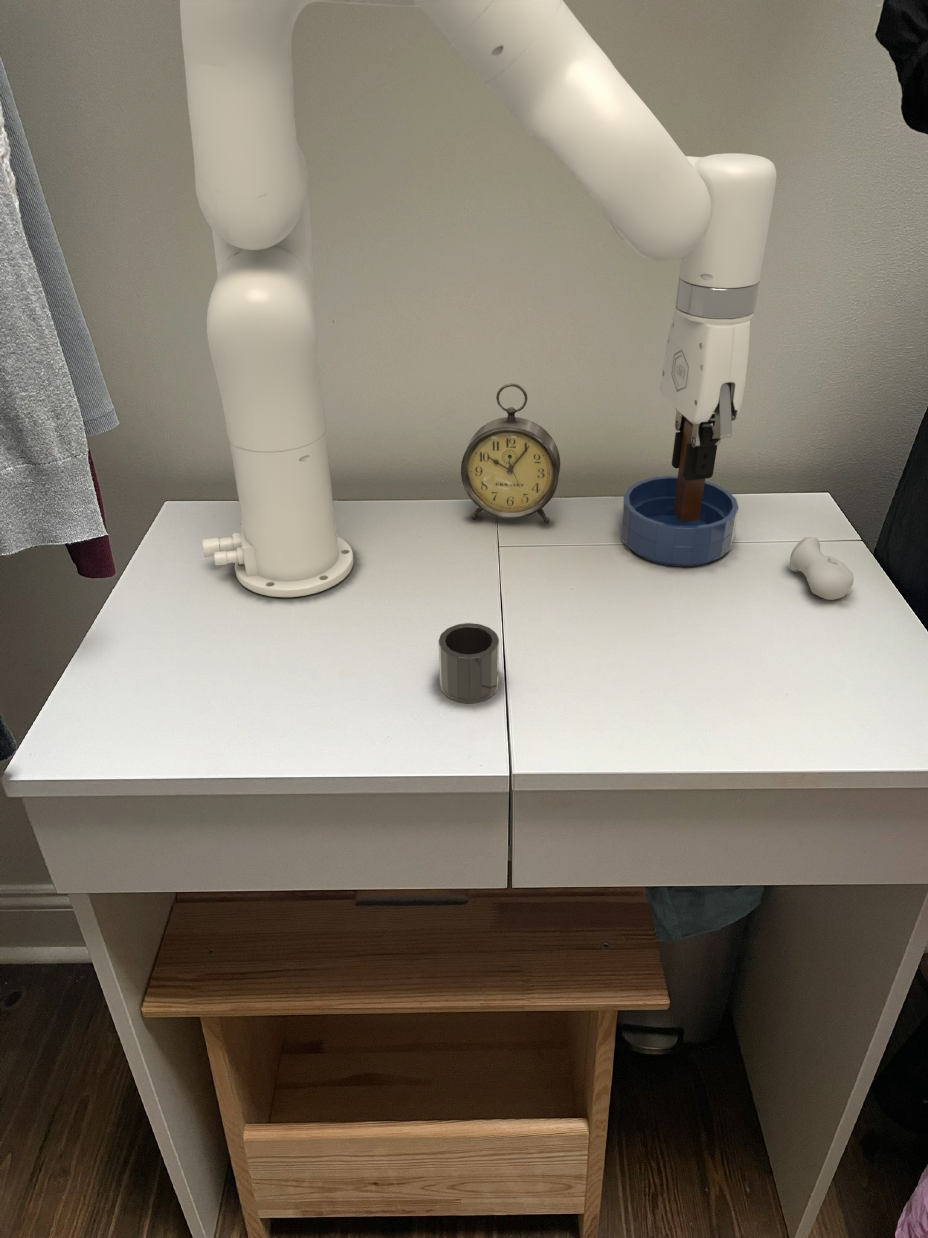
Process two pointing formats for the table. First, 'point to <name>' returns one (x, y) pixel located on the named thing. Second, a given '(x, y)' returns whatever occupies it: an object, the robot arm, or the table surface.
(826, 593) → the smooth white sculpture
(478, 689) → the crock
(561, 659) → the table surface
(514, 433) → the alarm clock
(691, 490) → the stick
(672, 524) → the bowl
